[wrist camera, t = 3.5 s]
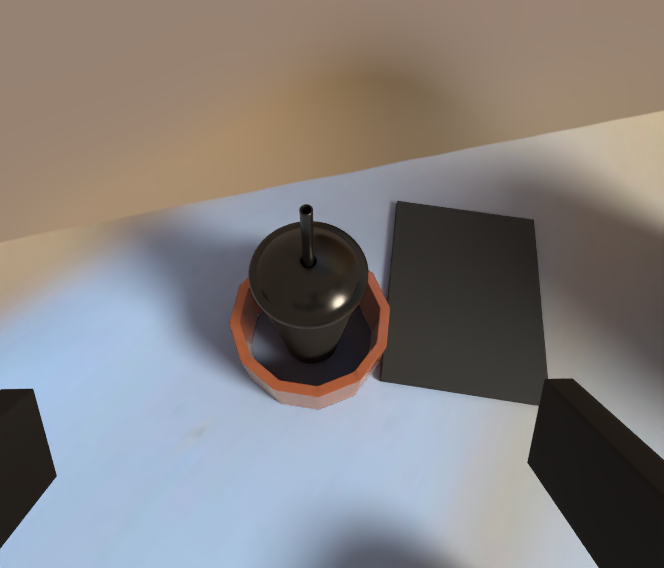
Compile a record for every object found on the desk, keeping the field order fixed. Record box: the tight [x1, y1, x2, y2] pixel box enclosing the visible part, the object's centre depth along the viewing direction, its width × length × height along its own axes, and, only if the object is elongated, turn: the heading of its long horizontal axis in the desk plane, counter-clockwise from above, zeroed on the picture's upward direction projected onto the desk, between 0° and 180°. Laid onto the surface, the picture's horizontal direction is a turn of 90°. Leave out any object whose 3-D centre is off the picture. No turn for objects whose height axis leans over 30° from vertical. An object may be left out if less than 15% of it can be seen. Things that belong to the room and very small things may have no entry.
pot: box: [229, 270, 390, 410], centre depth 35 cm, size 13×13×6 cm
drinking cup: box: [249, 204, 369, 364], centre depth 29 cm, size 8×8×20 cm
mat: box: [380, 201, 548, 406], centre depth 40 cm, size 15×20×1 cm
